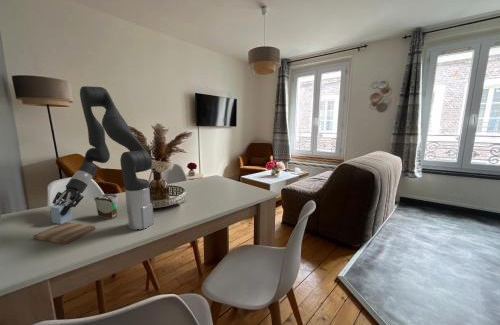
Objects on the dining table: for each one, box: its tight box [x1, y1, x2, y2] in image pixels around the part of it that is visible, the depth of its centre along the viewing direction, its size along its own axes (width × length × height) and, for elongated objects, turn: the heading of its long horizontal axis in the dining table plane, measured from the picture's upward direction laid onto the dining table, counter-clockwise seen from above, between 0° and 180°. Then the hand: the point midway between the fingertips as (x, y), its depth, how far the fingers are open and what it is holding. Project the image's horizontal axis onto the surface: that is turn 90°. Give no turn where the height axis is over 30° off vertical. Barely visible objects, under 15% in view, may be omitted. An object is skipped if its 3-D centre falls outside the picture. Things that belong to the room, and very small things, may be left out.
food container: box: [93, 193, 119, 220], centre depth 108 cm, size 12×6×10 cm, turn 71°
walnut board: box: [33, 221, 96, 245], centre depth 90 cm, size 16×12×2 cm
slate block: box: [49, 202, 73, 225], centre depth 101 cm, size 5×5×8 cm
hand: (57, 214), depth 99 cm, fingers closed on slate block, 5 cm apart
